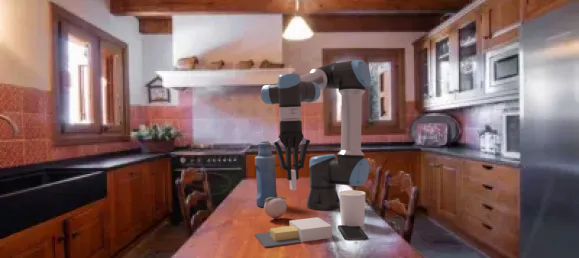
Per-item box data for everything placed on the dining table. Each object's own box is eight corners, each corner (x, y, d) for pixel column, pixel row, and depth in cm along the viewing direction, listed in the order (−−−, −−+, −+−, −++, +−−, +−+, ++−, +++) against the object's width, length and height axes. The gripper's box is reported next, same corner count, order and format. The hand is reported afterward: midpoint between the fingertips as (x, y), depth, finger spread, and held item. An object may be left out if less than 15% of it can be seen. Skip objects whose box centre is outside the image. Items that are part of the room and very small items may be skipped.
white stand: (318, 228, 140) (318, 217, 140) (332, 237, 129) (331, 225, 129) (289, 231, 137) (289, 220, 137) (301, 241, 125) (301, 229, 125)
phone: (344, 238, 126) (337, 225, 141) (344, 241, 126) (337, 228, 141) (368, 237, 126) (358, 224, 141) (368, 240, 126) (358, 227, 141)
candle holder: (357, 219, 150) (356, 189, 149) (371, 226, 141) (370, 193, 140) (334, 223, 146) (334, 191, 146) (347, 229, 137) (347, 196, 137)
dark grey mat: (287, 231, 138) (287, 229, 138) (300, 243, 124) (300, 241, 124) (254, 235, 134) (254, 233, 134) (264, 247, 121) (264, 246, 120)
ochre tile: (292, 232, 134) (292, 225, 134) (298, 237, 128) (298, 230, 128) (270, 235, 131) (269, 228, 131) (275, 240, 126) (274, 233, 126)
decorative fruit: (271, 223, 148) (270, 197, 148) (261, 219, 155) (260, 194, 155) (291, 219, 153) (291, 194, 153) (281, 215, 160) (281, 191, 160)
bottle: (280, 206, 177) (278, 141, 176) (259, 208, 173) (257, 142, 172) (273, 202, 186) (271, 140, 185) (253, 204, 182) (251, 141, 181)
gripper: (275, 120, 124) (277, 193, 125) (312, 119, 128) (315, 189, 129) (268, 120, 131) (271, 189, 132) (304, 119, 135) (307, 185, 136)
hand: (293, 189), depth 131 cm, fingers closed
